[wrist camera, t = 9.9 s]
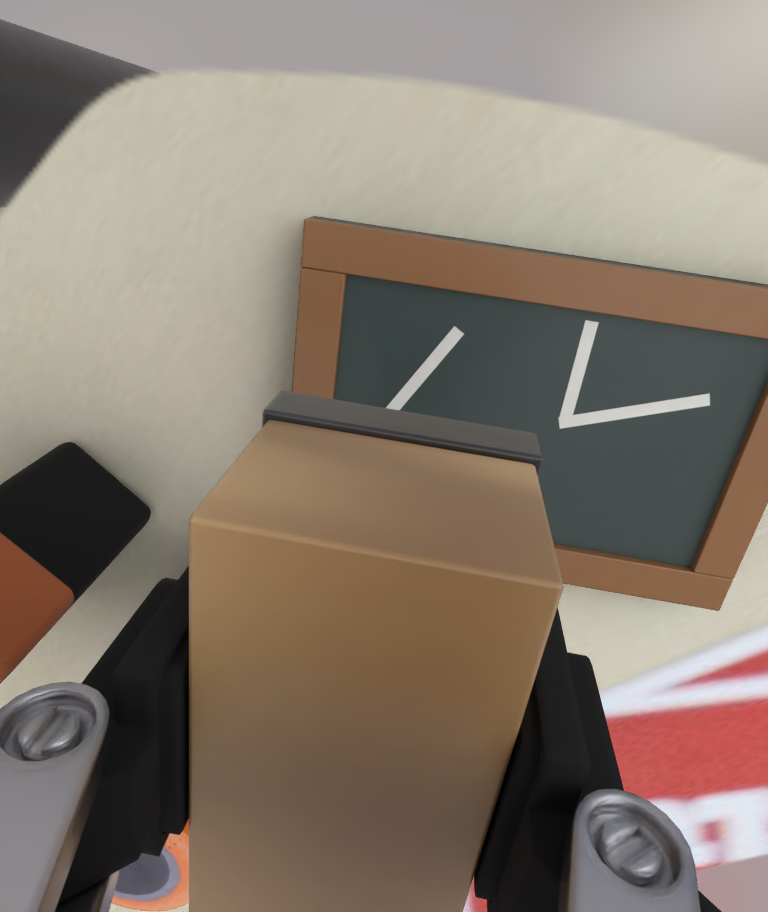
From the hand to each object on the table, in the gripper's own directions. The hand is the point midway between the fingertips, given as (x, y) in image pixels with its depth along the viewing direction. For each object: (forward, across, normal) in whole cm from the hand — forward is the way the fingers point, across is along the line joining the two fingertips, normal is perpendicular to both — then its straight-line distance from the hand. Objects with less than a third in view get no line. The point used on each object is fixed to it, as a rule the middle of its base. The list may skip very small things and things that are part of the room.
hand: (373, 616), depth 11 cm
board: (+12, -4, 0) cm, 12 cm away
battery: (+12, +13, +8) cm, 19 cm away
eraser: (+1, 0, 0) cm, 1 cm away
